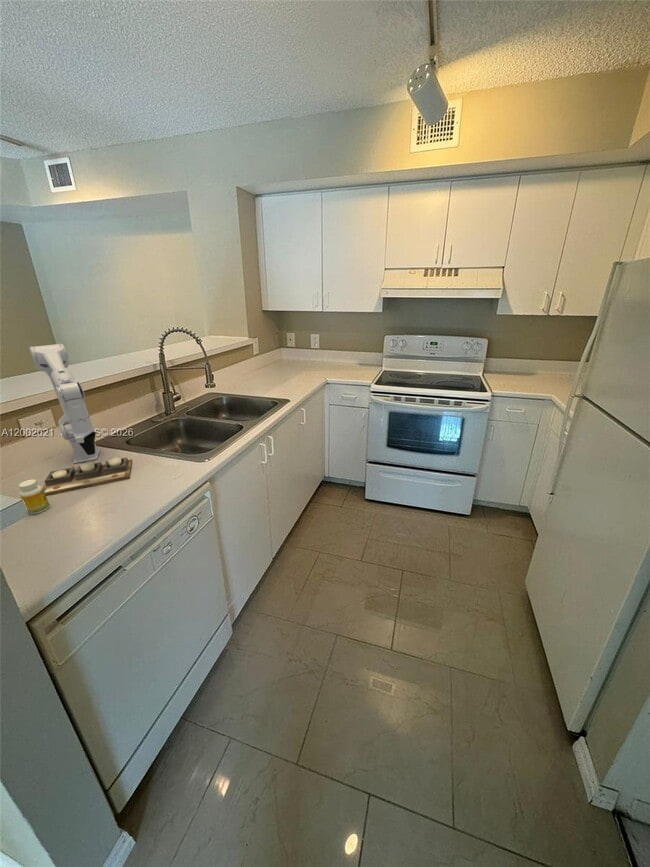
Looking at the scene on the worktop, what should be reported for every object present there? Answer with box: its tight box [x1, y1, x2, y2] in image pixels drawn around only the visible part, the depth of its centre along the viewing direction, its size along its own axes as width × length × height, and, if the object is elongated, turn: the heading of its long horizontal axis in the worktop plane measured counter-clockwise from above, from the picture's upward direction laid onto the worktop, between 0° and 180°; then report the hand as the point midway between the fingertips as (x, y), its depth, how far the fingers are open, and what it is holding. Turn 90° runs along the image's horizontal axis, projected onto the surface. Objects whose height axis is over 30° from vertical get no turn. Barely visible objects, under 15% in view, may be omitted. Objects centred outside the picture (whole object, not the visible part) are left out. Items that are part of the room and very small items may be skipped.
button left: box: [52, 469, 67, 478], centre depth 116 cm, size 4×4×2 cm
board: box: [42, 457, 133, 497], centre depth 118 cm, size 14×26×3 cm, turn 114°
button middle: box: [80, 461, 95, 473], centre depth 118 cm, size 4×4×2 cm
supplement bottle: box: [18, 479, 50, 515], centre depth 100 cm, size 5×5×10 cm
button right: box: [107, 456, 122, 467], centre depth 122 cm, size 4×4×2 cm
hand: (91, 453), depth 117 cm, fingers closed
